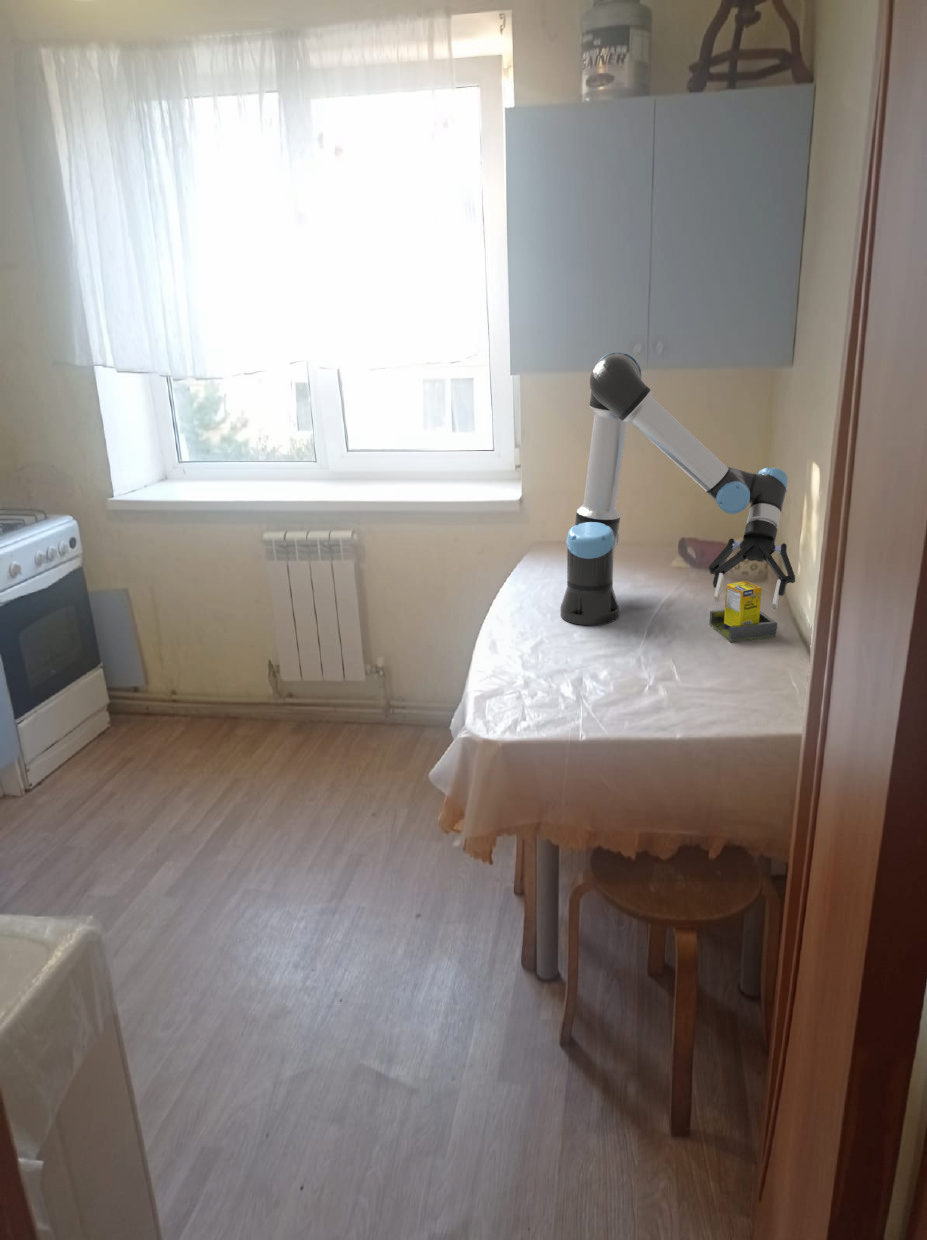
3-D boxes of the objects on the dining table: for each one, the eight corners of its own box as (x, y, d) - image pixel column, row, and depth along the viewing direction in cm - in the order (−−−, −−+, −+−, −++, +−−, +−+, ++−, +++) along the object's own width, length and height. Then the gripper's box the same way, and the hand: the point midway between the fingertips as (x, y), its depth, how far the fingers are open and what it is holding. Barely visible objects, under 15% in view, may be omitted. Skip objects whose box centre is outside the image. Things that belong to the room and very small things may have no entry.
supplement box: (759, 629, 213) (762, 586, 209) (739, 634, 211) (742, 591, 207) (742, 621, 219) (745, 580, 215) (723, 626, 216) (726, 584, 212)
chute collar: (709, 625, 219) (710, 611, 218) (752, 620, 221) (753, 606, 220) (730, 642, 209) (731, 627, 207) (775, 637, 210) (777, 622, 209)
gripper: (815, 538, 215) (800, 616, 209) (713, 529, 227) (695, 602, 220) (814, 523, 209) (798, 602, 202) (709, 514, 220) (690, 589, 214)
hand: (744, 602), depth 211 cm, fingers open, 13 cm apart
